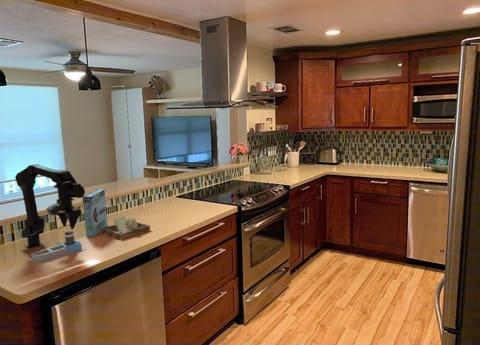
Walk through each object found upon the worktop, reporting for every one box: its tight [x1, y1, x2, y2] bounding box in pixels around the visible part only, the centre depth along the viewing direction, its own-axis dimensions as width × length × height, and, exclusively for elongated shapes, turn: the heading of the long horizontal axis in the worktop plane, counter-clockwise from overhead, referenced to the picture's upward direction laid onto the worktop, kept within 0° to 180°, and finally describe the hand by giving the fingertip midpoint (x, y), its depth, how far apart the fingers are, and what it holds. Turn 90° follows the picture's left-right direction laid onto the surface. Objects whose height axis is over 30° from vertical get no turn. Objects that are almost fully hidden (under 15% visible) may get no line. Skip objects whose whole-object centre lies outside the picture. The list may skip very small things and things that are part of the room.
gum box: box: [82, 188, 108, 238], centre depth 210 cm, size 20×5×23 cm, turn 178°
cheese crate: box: [101, 221, 151, 241], centre depth 209 cm, size 19×19×3 cm
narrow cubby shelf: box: [27, 239, 88, 266], centre depth 175 cm, size 12×23×5 cm, turn 140°
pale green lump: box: [113, 215, 138, 234], centre depth 207 cm, size 15×7×15 cm
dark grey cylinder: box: [63, 230, 75, 246], centre depth 180 cm, size 4×4×9 cm
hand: (68, 227), depth 179 cm, fingers open, 8 cm apart
